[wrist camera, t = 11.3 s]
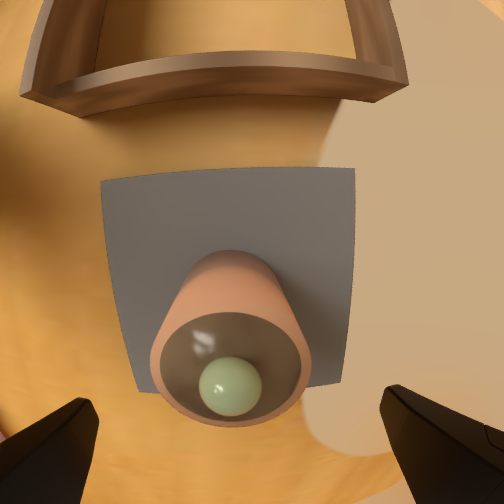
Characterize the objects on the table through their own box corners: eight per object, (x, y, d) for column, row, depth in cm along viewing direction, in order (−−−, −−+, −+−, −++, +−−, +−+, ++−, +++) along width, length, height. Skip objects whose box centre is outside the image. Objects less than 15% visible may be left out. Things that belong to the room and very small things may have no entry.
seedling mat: (141, 387, 17) (139, 392, 17) (104, 181, 14) (100, 181, 14) (338, 378, 18) (340, 382, 18) (351, 169, 15) (354, 168, 14)
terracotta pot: (188, 342, 16) (160, 455, 8) (177, 252, 15) (117, 326, 7) (280, 337, 16) (314, 450, 8) (280, 247, 15) (332, 318, 7)
